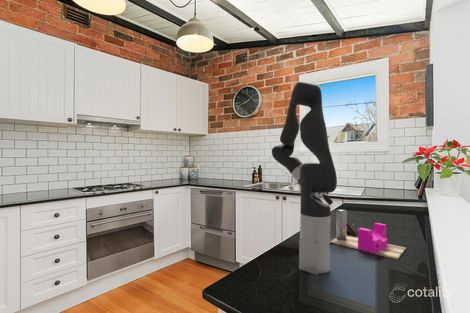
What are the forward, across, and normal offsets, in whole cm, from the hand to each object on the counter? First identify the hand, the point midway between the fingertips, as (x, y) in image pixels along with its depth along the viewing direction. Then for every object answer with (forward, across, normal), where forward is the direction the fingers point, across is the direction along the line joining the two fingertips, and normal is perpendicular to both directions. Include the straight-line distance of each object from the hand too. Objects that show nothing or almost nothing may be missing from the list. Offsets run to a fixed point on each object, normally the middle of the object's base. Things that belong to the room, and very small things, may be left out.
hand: (327, 205), depth 118 cm
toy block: (+23, 0, -4) cm, 24 cm away
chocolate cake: (+14, +12, +6) cm, 20 cm away
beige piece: (+21, 0, -2) cm, 21 cm away
